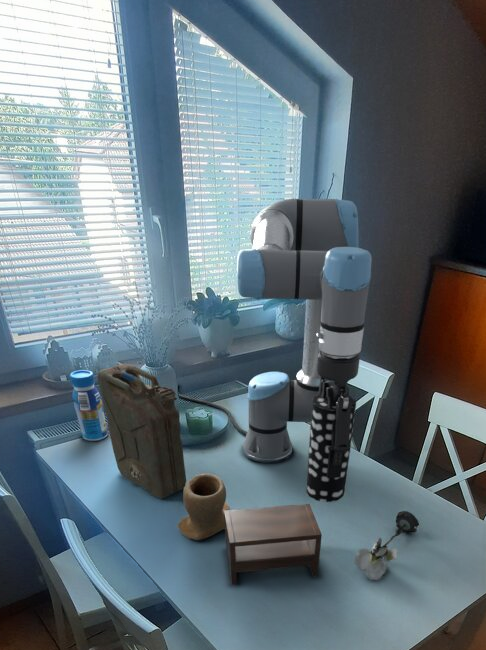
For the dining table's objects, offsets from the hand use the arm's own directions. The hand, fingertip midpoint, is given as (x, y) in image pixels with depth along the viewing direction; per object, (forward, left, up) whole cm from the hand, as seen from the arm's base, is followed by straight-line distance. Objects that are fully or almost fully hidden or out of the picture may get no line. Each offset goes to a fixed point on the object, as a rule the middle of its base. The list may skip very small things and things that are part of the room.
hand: (327, 465), depth 107 cm
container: (-41, -39, -25) cm, 62 cm away
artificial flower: (+1, +17, -25) cm, 31 cm away
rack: (0, -12, -25) cm, 28 cm away
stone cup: (-16, -25, -25) cm, 39 cm away
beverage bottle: (-72, -58, -25) cm, 96 cm away
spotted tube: (0, 0, -7) cm, 7 cm away
